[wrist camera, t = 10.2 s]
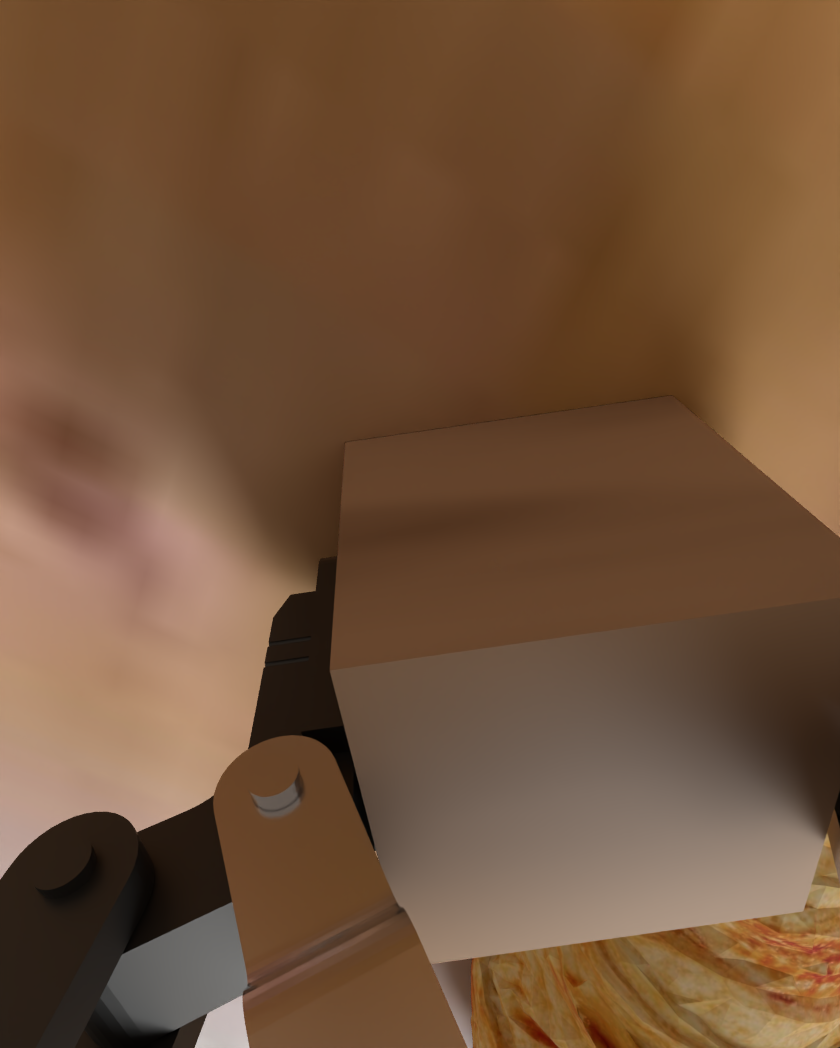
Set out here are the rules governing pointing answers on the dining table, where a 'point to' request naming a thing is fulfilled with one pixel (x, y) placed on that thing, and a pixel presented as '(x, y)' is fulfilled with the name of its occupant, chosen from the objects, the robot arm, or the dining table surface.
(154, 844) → the robot arm
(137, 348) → the dining table surface
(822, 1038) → the croissant
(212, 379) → the dining table surface
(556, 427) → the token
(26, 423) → the dining table surface
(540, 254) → the dining table surface
